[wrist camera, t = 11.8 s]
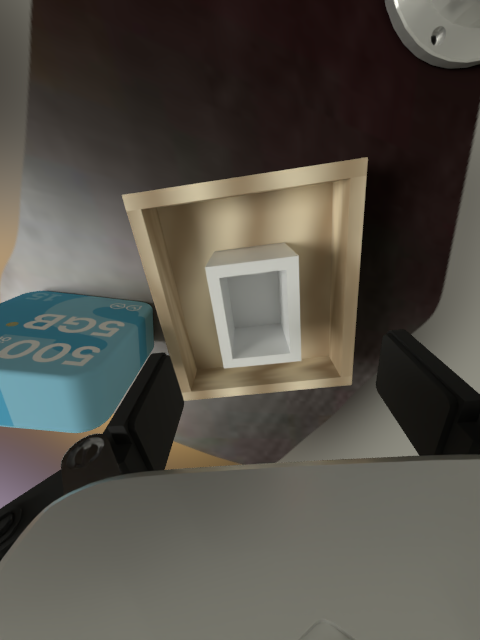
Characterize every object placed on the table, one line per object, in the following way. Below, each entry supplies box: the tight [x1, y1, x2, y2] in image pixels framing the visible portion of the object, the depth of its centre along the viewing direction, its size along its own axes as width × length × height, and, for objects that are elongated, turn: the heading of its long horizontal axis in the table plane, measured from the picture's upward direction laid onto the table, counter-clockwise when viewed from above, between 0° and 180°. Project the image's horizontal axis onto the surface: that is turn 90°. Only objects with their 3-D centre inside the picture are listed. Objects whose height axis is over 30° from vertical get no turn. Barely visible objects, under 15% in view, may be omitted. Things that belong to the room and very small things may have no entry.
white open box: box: [205, 242, 301, 369], centre depth 20 cm, size 6×8×6 cm
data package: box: [0, 291, 154, 433], centre depth 20 cm, size 12×4×12 cm, turn 83°
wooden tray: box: [122, 157, 368, 401], centre depth 22 cm, size 16×18×4 cm
